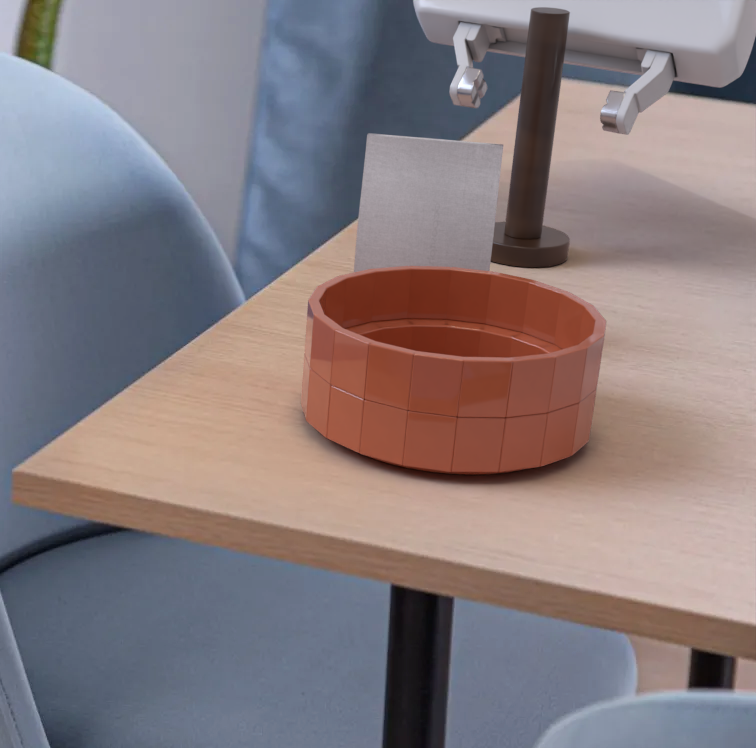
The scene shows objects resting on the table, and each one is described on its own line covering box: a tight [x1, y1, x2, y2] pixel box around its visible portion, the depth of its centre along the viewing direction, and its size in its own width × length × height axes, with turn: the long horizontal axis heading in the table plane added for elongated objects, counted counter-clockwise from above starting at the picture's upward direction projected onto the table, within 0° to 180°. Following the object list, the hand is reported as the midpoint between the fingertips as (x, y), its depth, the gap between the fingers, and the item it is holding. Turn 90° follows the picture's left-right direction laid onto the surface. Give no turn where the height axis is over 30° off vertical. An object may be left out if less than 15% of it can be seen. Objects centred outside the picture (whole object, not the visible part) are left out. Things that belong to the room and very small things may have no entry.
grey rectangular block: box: [353, 132, 504, 272], centre depth 90 cm, size 4×7×10 cm, turn 81°
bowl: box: [300, 266, 607, 476], centre depth 79 cm, size 13×13×6 cm
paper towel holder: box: [490, 7, 571, 268], centre depth 103 cm, size 6×6×14 cm
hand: (536, 113), depth 102 cm, fingers open, 8 cm apart
